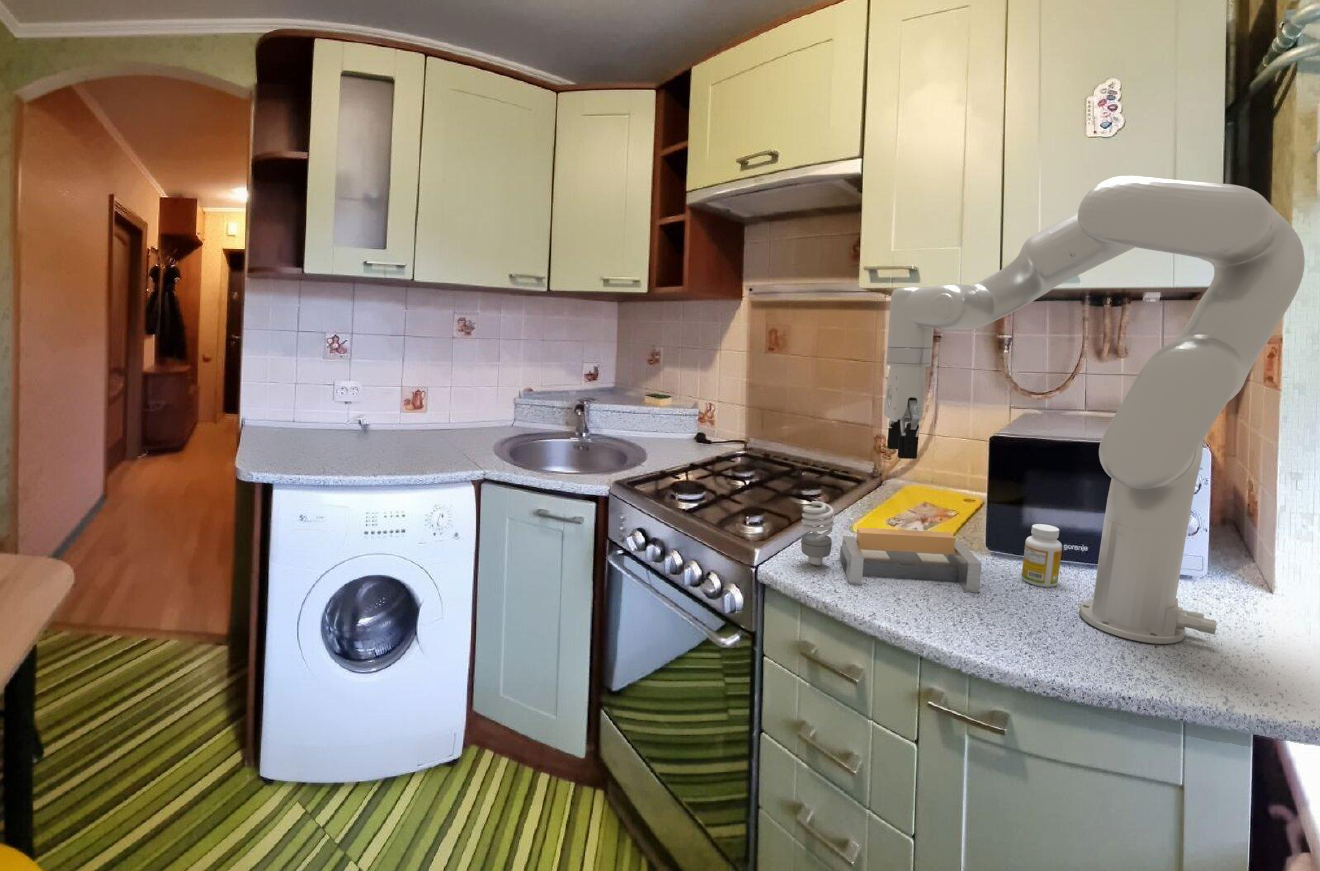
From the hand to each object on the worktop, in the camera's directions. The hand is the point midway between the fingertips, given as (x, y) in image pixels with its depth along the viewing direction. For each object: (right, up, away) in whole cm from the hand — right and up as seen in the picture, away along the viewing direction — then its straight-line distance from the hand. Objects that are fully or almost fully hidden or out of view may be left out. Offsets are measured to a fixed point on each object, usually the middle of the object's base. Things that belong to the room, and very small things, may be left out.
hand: (901, 453), depth 118 cm
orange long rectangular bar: (-1, -17, -4) cm, 17 cm away
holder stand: (-1, -21, -5) cm, 22 cm away
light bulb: (-16, -21, -2) cm, 26 cm away
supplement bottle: (+21, -22, -8) cm, 31 cm away
